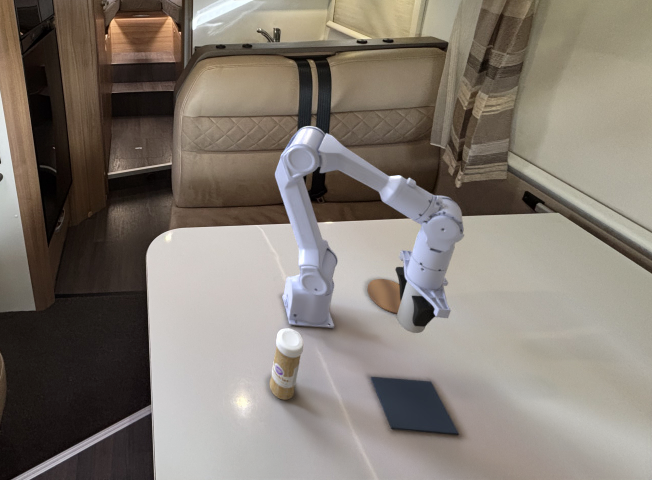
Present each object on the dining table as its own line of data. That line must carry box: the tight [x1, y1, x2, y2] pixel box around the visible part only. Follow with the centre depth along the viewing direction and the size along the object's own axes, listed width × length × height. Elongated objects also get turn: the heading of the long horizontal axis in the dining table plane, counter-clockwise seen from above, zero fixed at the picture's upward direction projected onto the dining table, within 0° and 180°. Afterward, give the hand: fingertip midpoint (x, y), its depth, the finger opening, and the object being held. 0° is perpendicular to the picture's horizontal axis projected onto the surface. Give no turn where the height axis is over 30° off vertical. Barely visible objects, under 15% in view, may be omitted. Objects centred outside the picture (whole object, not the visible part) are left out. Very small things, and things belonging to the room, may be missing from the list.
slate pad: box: [370, 376, 460, 436], centre depth 77 cm, size 11×9×1 cm
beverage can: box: [396, 281, 426, 334], centre depth 82 cm, size 5×5×12 cm
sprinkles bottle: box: [269, 327, 305, 401], centre depth 78 cm, size 5×5×14 cm
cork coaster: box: [366, 278, 401, 315], centre depth 100 cm, size 10×10×1 cm
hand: (412, 313), depth 84 cm, fingers closed on beverage can, 5 cm apart
